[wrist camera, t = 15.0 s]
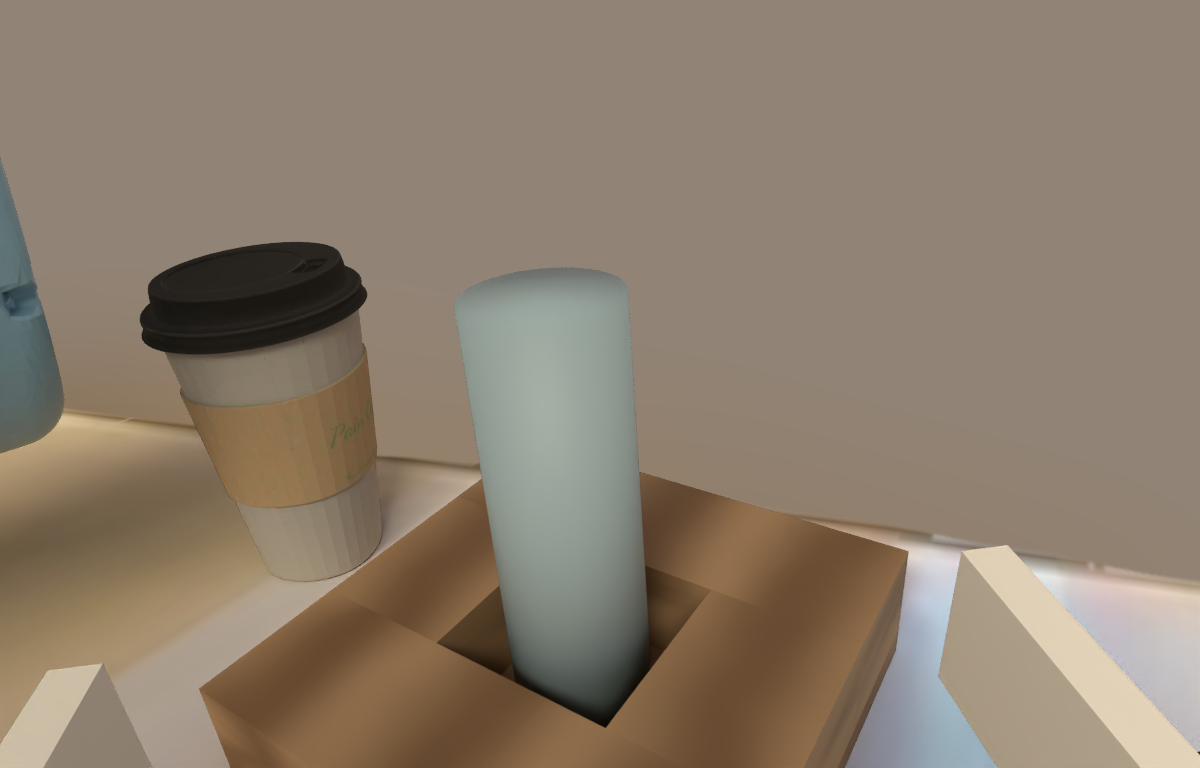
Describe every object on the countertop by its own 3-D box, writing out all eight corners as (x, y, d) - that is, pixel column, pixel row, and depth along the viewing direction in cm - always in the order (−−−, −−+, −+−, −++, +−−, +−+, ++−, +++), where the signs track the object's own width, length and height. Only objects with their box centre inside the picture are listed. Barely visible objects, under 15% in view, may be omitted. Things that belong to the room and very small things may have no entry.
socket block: (239, 789, 29) (199, 688, 26) (543, 522, 42) (533, 440, 39) (684, 1134, 19) (680, 1022, 17) (895, 649, 32) (908, 551, 30)
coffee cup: (432, 570, 39) (372, 277, 32) (225, 634, 36) (112, 325, 29) (398, 476, 47) (344, 225, 40) (226, 522, 44) (137, 259, 37)
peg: (510, 754, 28) (434, 332, 21) (529, 649, 32) (473, 272, 25) (652, 755, 27) (625, 323, 20) (652, 647, 32) (630, 263, 25)
